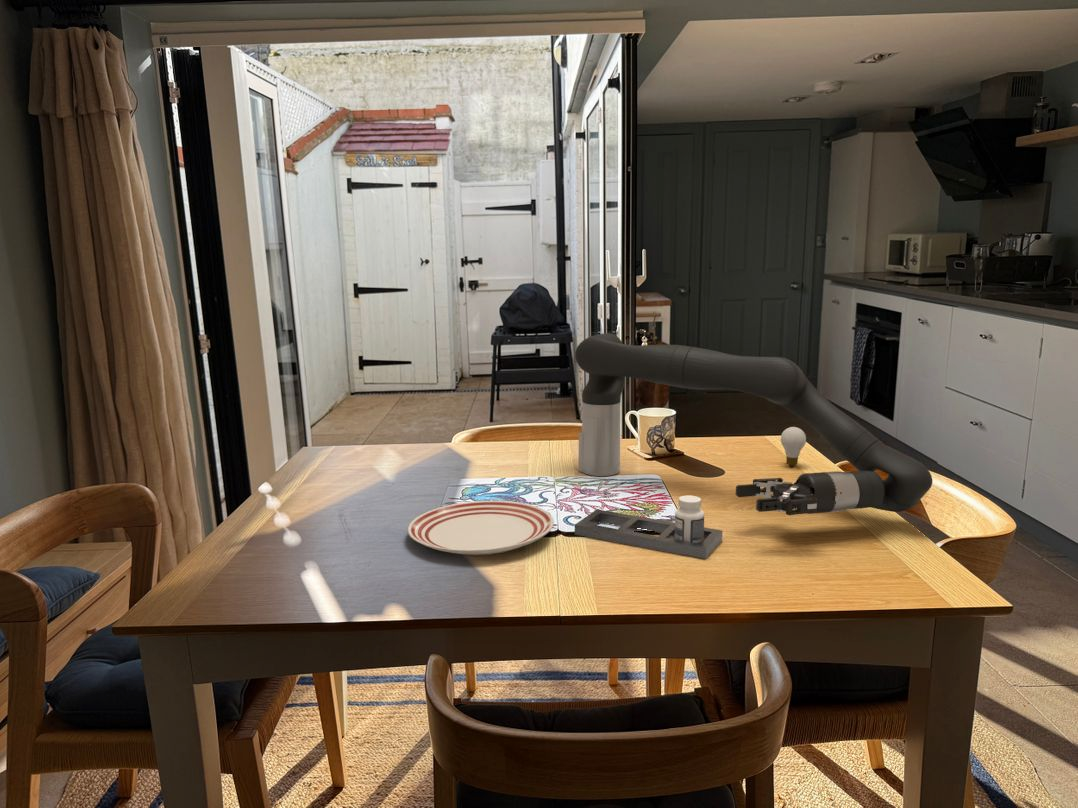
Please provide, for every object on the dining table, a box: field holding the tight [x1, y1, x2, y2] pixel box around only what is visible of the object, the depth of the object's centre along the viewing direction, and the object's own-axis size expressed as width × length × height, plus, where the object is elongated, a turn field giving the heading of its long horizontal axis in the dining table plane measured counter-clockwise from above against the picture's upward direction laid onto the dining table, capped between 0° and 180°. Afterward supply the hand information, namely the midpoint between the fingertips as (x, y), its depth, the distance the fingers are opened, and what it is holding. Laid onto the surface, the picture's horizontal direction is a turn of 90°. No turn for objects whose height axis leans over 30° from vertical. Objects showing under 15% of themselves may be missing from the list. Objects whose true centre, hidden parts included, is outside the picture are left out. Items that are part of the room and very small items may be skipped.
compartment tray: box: [574, 509, 724, 560], centre depth 149 cm, size 26×10×2 cm, turn 61°
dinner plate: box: [407, 500, 555, 556], centre depth 150 cm, size 28×27×3 cm
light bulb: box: [780, 426, 807, 468], centre depth 193 cm, size 6×6×10 cm
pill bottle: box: [674, 495, 705, 544], centre depth 144 cm, size 5×5×9 cm
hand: (746, 498), depth 145 cm, fingers open, 8 cm apart
